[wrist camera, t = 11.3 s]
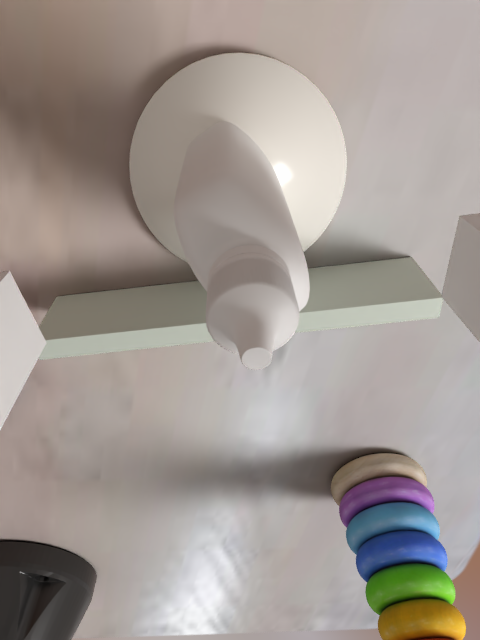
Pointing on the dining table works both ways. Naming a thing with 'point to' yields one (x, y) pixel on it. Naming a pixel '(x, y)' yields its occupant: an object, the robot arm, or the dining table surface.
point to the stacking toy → (398, 547)
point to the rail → (190, 309)
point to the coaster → (257, 122)
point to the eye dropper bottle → (241, 244)
